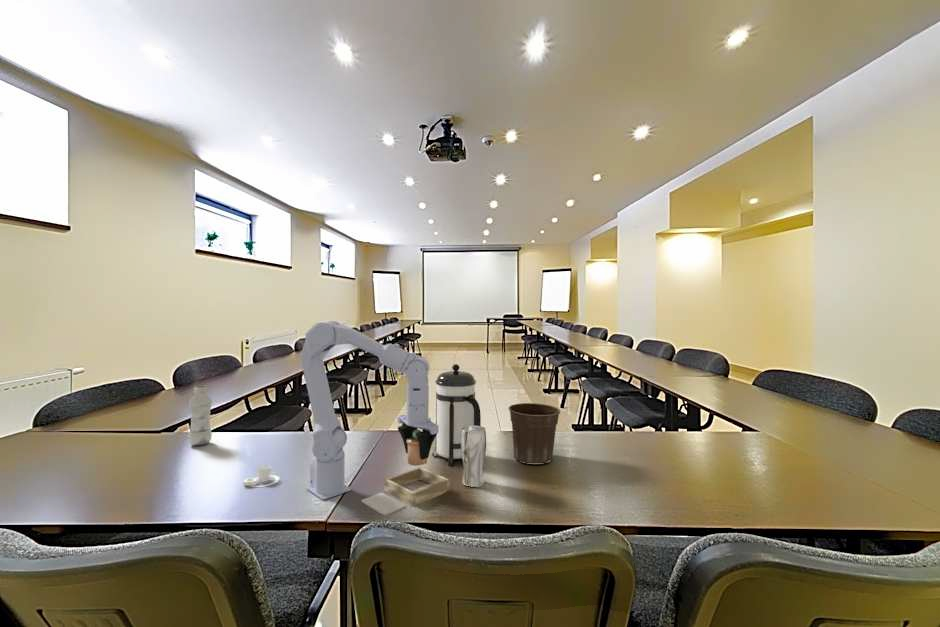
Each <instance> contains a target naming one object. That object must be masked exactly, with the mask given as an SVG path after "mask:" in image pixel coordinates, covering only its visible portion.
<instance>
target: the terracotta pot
mask: <svg viewBox="0 0 940 627" xmlns="http://www.w3.org/2000/svg"><path fill="white" fill-rule="evenodd" d="M418 432H422V430H421V429H416V430H414V431H413V437H409V438H407V439H406V442H407V444H408V454H407V464H409V466H423V465H426V464H427V463H428V458H426V459H423V460H422V459H421V458H420V449H419V442H418V439H417V436H416V433H418Z"/></svg>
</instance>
